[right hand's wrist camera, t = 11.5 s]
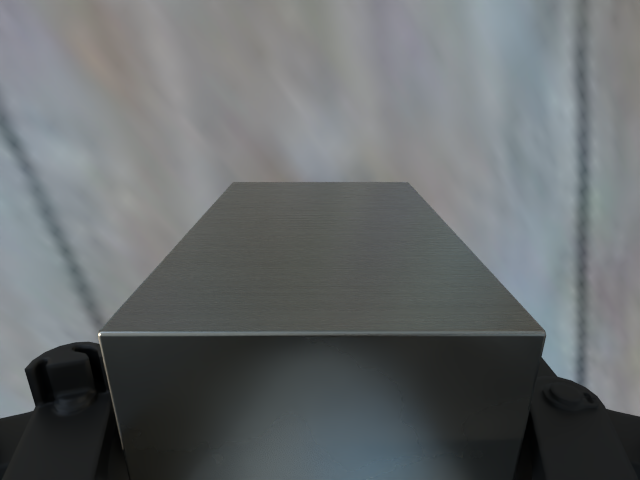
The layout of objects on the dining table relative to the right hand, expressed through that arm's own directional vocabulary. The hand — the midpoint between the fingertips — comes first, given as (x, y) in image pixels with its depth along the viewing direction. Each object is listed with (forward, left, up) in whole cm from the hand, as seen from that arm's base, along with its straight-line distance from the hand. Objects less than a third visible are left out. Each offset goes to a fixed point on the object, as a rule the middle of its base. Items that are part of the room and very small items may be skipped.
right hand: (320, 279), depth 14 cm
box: (+5, +7, -1) cm, 8 cm away
